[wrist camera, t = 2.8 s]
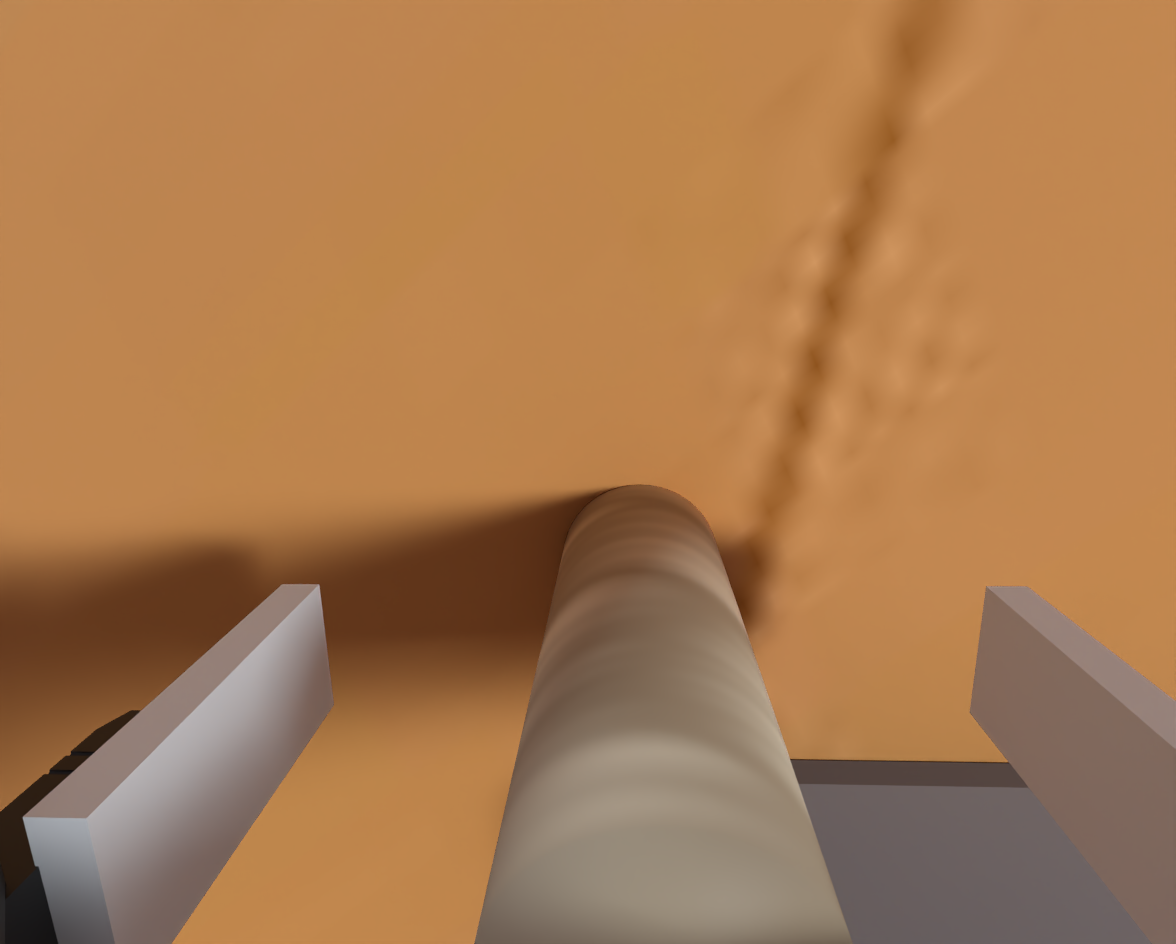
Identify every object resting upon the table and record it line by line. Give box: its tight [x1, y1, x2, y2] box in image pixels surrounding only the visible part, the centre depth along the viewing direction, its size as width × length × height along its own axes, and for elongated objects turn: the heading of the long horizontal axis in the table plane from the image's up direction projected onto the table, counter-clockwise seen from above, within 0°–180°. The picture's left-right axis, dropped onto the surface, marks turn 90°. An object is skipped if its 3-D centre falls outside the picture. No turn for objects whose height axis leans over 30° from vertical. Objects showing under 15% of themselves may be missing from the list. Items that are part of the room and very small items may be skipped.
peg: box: [474, 485, 853, 944], centre depth 13 cm, size 4×4×12 cm
